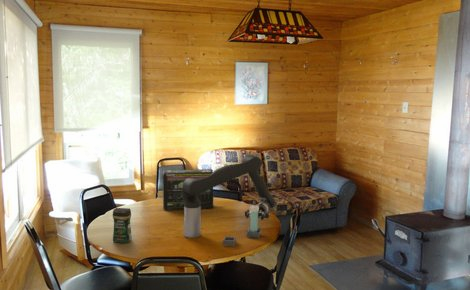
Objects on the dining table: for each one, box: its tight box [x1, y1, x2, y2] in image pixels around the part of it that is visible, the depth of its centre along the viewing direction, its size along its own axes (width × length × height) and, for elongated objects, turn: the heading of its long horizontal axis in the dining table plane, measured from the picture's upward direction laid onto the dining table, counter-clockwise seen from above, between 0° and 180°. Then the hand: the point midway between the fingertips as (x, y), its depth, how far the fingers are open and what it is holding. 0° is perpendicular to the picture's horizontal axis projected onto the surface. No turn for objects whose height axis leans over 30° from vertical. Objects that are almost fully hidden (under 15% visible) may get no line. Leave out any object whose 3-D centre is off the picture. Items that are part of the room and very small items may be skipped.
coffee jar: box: [112, 207, 133, 244], centre depth 229 cm, size 10×8×19 cm
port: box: [246, 227, 261, 239], centre depth 240 cm, size 7×7×4 cm
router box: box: [162, 168, 214, 211], centre depth 294 cm, size 36×11×27 cm, turn 99°
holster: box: [222, 235, 237, 248], centre depth 227 cm, size 6×6×3 cm
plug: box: [249, 200, 259, 232], centre depth 239 cm, size 4×4×20 cm
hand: (254, 217), depth 239 cm, fingers open, 8 cm apart
